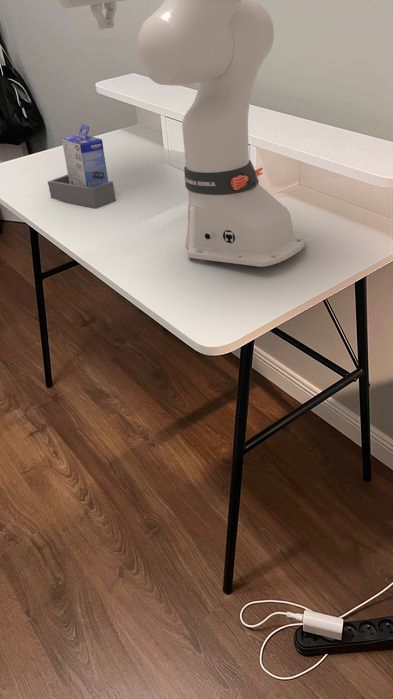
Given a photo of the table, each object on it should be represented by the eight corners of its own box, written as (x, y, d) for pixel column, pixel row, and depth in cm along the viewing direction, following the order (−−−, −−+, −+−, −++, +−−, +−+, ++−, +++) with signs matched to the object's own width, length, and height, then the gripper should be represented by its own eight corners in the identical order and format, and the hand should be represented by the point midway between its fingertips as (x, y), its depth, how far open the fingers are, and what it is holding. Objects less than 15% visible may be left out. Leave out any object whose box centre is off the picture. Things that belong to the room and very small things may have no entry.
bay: (115, 200, 131) (112, 181, 129) (95, 208, 127) (92, 189, 125) (71, 192, 140) (67, 174, 137) (51, 199, 136) (47, 181, 134)
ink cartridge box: (113, 197, 133) (101, 127, 126) (89, 203, 131) (76, 132, 124) (93, 188, 141) (80, 121, 133) (70, 194, 138) (57, 126, 131)
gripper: (64, -50, 114) (78, 34, 121) (142, -55, 127) (150, 22, 134) (43, -46, 117) (58, 35, 124) (120, -51, 130) (130, 23, 137)
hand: (106, 28), depth 129 cm, fingers closed
